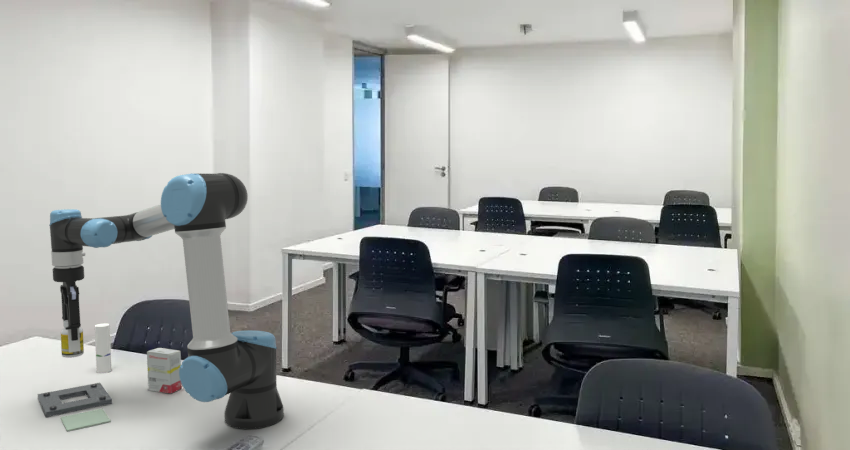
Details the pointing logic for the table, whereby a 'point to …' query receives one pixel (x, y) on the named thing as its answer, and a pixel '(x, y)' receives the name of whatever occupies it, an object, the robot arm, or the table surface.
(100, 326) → the tube
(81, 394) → the grey mounting plate
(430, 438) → the table surface
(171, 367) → the ink box
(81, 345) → the supplement bottle
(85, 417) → the mat
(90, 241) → the robot arm
